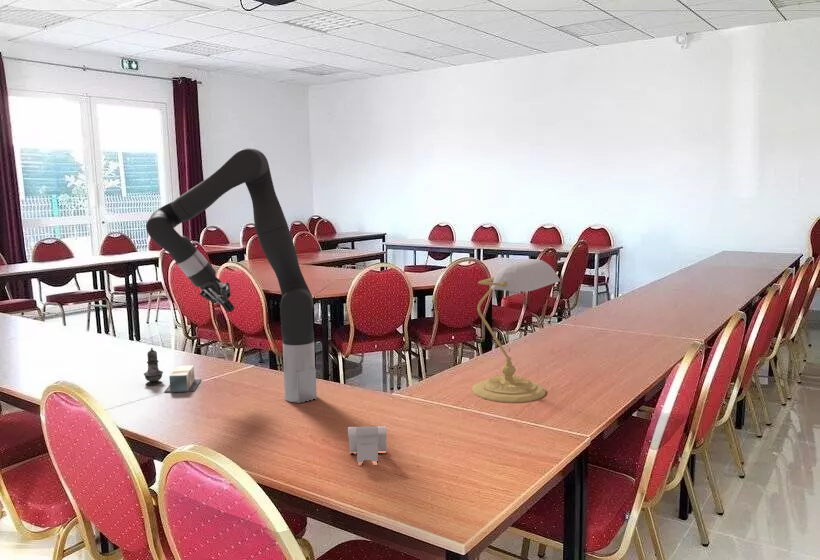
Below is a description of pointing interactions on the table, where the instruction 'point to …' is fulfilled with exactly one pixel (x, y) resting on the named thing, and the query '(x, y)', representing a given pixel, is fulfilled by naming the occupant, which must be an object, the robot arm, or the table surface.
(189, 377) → the birch block
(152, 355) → the salt shaker
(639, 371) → the table surface
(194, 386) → the gray rectangular block
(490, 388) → the desk lamp
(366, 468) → the table surface
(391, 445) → the table surface
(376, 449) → the portable electronic device stand
